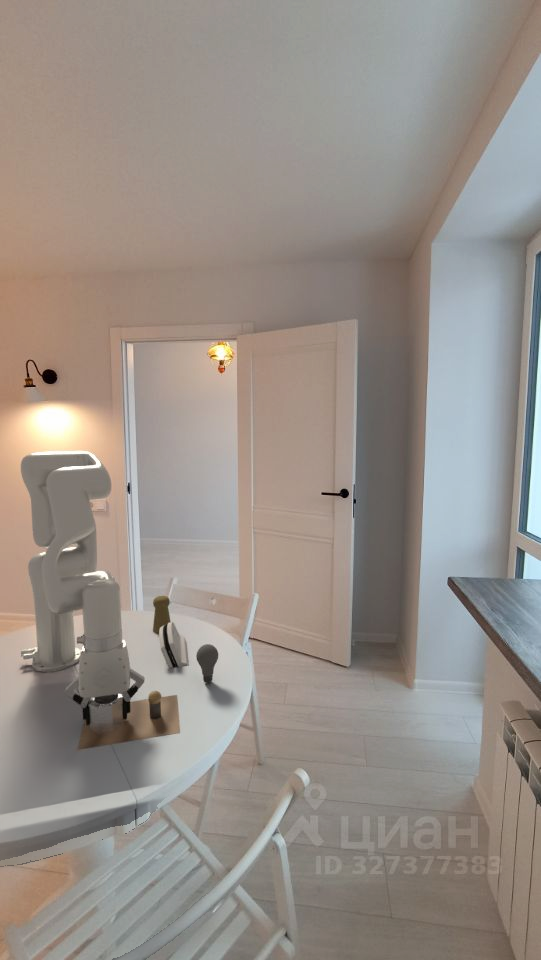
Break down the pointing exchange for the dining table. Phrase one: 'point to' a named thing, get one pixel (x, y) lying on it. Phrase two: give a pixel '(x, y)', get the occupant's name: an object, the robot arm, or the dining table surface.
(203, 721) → the dining table surface
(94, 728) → the white hollow octagonal cylinder
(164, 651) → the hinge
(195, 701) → the dining table surface
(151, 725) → the keeper base
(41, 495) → the robot arm
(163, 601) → the cork
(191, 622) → the dining table surface
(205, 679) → the light bulb
